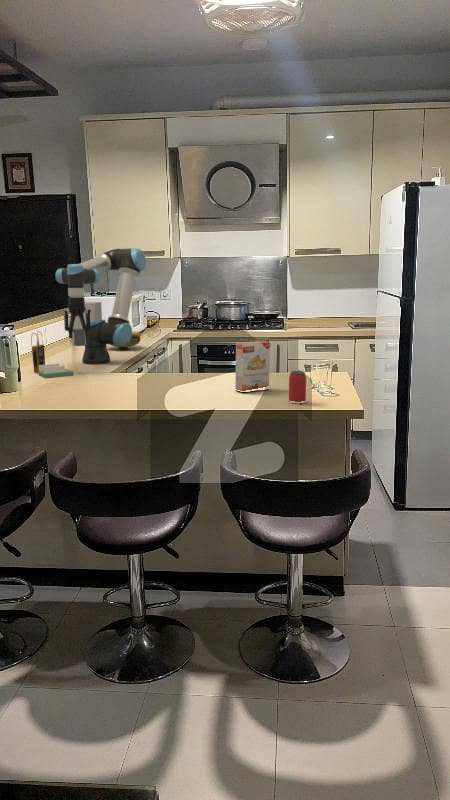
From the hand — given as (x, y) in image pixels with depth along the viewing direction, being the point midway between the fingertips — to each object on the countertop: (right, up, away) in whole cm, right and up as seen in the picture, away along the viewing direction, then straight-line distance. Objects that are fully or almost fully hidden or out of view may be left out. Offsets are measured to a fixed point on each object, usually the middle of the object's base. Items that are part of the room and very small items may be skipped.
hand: (78, 344), depth 303 cm
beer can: (+100, -28, -62) cm, 121 cm away
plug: (0, 0, 0) cm, 0 cm away
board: (-10, -15, -3) cm, 19 cm away
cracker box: (+84, -23, -40) cm, 96 cm away
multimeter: (-18, -13, +8) cm, 24 cm away
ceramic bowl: (+8, +5, +89) cm, 89 cm away
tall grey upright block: (-18, +9, +110) cm, 112 cm away
